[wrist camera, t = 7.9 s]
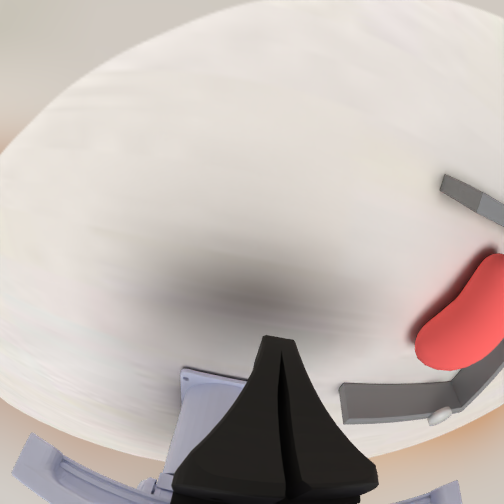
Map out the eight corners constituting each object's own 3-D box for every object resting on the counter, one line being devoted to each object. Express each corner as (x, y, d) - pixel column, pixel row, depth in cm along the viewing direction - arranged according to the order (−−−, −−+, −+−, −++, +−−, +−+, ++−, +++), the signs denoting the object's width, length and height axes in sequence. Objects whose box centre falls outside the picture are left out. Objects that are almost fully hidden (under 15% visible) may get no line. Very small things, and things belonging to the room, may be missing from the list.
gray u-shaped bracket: (447, 390, 20) (458, 420, 16) (335, 393, 20) (340, 434, 16) (548, 226, 11) (577, 249, 7) (448, 162, 11) (495, 181, 7)
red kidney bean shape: (491, 288, 16) (541, 292, 9) (431, 375, 16) (474, 407, 10) (462, 246, 16) (515, 239, 10) (396, 339, 17) (440, 368, 10)
